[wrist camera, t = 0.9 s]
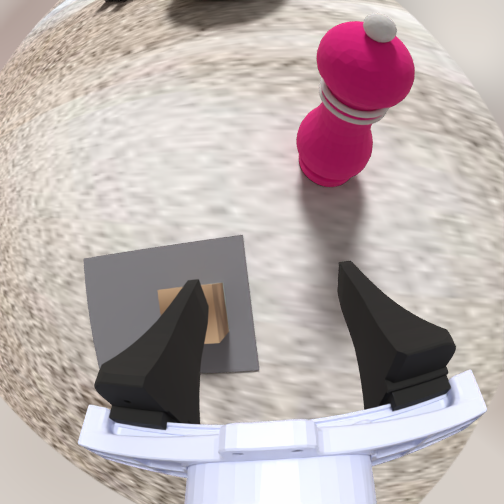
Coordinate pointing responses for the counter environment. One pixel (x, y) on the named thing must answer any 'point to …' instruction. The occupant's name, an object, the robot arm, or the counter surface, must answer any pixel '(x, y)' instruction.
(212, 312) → the cube
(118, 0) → the end cap
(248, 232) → the counter surface
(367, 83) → the pepper mill
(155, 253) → the mat
